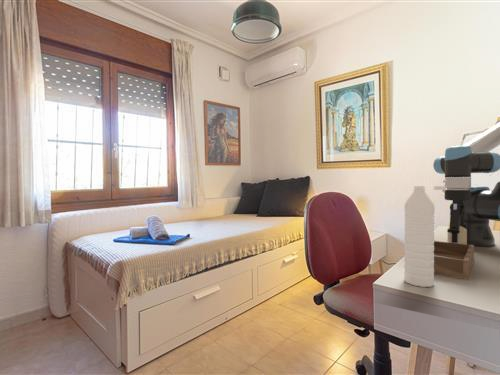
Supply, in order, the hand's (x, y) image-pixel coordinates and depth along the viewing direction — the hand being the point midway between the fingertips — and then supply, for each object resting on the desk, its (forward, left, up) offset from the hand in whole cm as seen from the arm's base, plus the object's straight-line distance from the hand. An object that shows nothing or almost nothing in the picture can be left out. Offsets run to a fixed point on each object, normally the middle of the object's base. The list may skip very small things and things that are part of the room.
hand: (456, 247), depth 98 cm
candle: (0, 0, -2) cm, 2 cm away
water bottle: (+41, -7, -2) cm, 42 cm away
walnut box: (+20, -3, -2) cm, 20 cm away
